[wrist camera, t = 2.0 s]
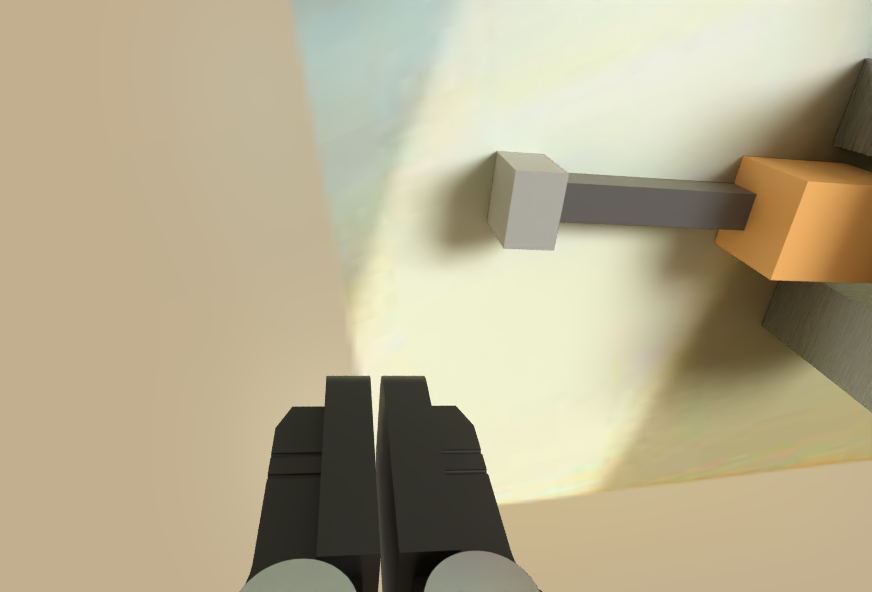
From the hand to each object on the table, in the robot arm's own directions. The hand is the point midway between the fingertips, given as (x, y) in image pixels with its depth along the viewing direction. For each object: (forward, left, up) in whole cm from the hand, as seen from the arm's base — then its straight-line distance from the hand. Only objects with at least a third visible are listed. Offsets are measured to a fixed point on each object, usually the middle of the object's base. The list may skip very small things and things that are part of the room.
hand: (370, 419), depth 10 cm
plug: (0, +13, -15) cm, 20 cm away
